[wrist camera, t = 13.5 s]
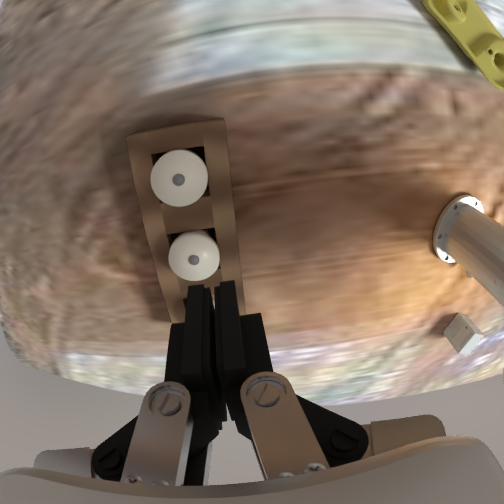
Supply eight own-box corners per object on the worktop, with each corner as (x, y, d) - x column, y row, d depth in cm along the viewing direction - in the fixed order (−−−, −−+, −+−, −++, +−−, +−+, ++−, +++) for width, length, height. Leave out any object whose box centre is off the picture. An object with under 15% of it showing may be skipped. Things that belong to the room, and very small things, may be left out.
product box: (458, 311, 54) (475, 332, 47) (468, 316, 56) (485, 335, 49) (441, 332, 56) (458, 354, 50) (453, 335, 58) (468, 355, 52)
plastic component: (420, -2, 22) (460, -36, 15) (405, -2, 27) (441, -34, 20) (501, 102, 28) (536, 71, 21) (481, 87, 33) (513, 58, 26)
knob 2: (227, 239, 37) (230, 261, 33) (194, 265, 39) (193, 290, 34) (196, 208, 35) (194, 226, 30) (163, 236, 36) (157, 259, 31)
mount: (135, 132, 30) (125, 137, 26) (223, 117, 30) (224, 120, 27) (180, 323, 44) (178, 342, 40) (245, 315, 44) (248, 334, 41)
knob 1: (218, 168, 33) (219, 181, 28) (182, 200, 34) (177, 217, 29) (185, 133, 30) (180, 139, 26) (149, 166, 32) (138, 179, 27)
